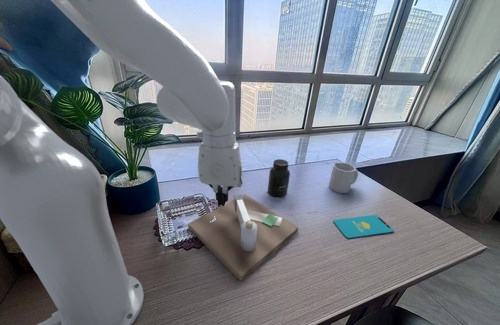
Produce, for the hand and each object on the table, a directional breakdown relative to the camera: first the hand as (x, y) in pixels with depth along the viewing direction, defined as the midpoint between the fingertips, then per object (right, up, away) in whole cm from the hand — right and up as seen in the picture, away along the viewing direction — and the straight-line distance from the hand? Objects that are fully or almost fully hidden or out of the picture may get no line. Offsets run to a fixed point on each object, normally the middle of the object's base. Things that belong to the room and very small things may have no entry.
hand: (222, 202), depth 57 cm
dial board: (+6, -8, 0) cm, 9 cm away
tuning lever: (+6, -7, -2) cm, 9 cm away
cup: (+42, +1, +22) cm, 47 cm away
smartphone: (+39, -8, +4) cm, 40 cm away
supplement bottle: (+17, 0, +17) cm, 24 cm away
